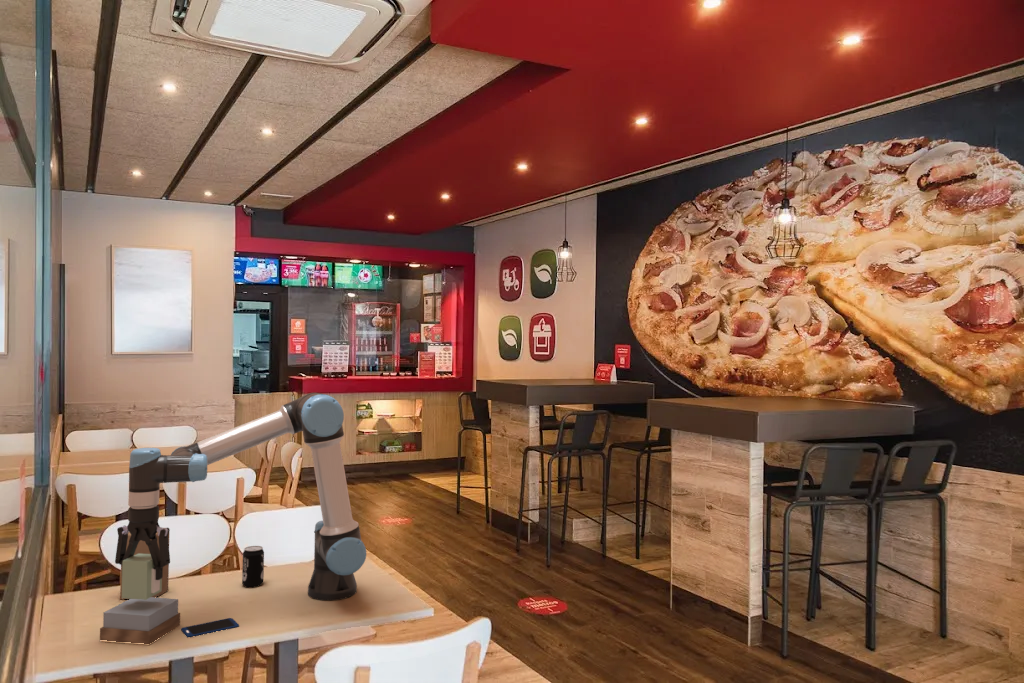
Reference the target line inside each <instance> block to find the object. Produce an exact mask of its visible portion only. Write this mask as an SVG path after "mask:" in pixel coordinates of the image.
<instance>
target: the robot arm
mask: <svg viewBox="0 0 1024 683" xmlns="http://www.w3.org/2000/svg"><path fill="white" fill-rule="evenodd" d="M344 419H345V415H344V409H343V406H342V405H341V404H340V402H339V401H338V400H337V399H335V398H334V397H333V396H331V395H328V394H324V393H322V392H321V393H320V392H310V393H307V394H304V395H302V396H300V397H298V398H296V399H293V400H292V401H290V402H288V403H285V404H282V405H281V406H280V408H279V409H278V410H276V411H274V412H271V413H269V414H268V413H267V414H266V415H263V416H261V417H259V418H256V419H253V420H250V421H248V422H245V423H242V424H239V425H238V426H235V427H232V428H230V429H227V430H225V431H222V432H219V433H217V434H214V435H212V436H209V437H207V438H204V439H202V440H200V441H197V442H194V443H191V444H189V445H187V446H184V445H183V446H180V447H177V448H175V449H174V450H173V451H172V452H171V453H170V454H168V455H166V454H165V455H164V454H162V453H161V449H160V448H157V447H139V448H135V449H132V451H131V452H130V454H129V463H128V464H129V465H128V466H129V467H128V506H129V507H128V510H127V519H128V524H127V525H122V526H120V527H117V531H116V532H117V544H116V550H115V560H114V563H115V564H116V565H120V567H121V566H122V562H123V560H125V559H127V558H130V557H132V556H134V553H135V550H136V548H137V545H138V543H139V541H140V540H142V541H145V543H146V545H148V548H149V551H150V554H151V557H152V560H153V564H154V568H152V578H151V593H155V592H157V591H159V590H160V579H162V577H163V566H166V565H168V564H169V565H170V563H171V555H170V542H169V543H168V534H169V535H170V531H169V529H170V528H169V527H162V526H160V524H159V519H160V506H159V503H160V489H161V488H160V486H161V485H160V484H168V483H188V482H189V483H190V482H192V483H195V482H201V481H205V480H206V479H207V477H208V465H211V464H214V463H216V462H219V461H222V460H224V459H226V458H230V457H232V456H233V455H234V456H235V455H236V454H238V453H241V452H244V451H247V450H250V449H251V448H253V447H256V446H259V445H261V444H264V443H267V442H269V441H271V440H273V439H277V438H278V437H281V436H284V435H286V434H291V435H296V434H297V433H301V432H302V435H303V441H304V444H305V445H307V446H308V447H309V448H310V452H311V458H312V464H313V469H314V476H315V480H316V486H317V494H318V499H319V503H320V505H319V506H320V510H321V517H322V520H319V521H317V522H316V523H315V525H314V531H313V532H314V554H313V555H314V557H313V559H314V561H313V563H314V566H313V568H314V569H313V572H312V575H311V577H310V580H309V583H308V586H307V595H308V597H310V598H311V597H312V599H315V600H320V601H321V600H322V601H337V600H338V601H339V600H342V599H347V598H350V597H353V596H355V594H356V593H357V590H358V589H357V587H358V585H357V581H356V577H355V573H357V572H358V571H359V570H360V569H361V568H362V567H363V565H364V564H365V561H366V559H367V549H366V546H365V544H364V542H363V540H362V536H361V529H360V525H359V522H358V521H356V520H354V518H353V512H352V507H351V501H350V495H349V490H348V489H349V488H348V484H347V483H348V482H347V477H346V471H345V465H344V459H343V454H342V453H343V452H342V447H341V441H342V440H343V438H344V437H345V432H344V428H343V427H344V426H343V423H344ZM128 532H130V534H131V537H130V540H129V545H128V547H127V539H128ZM157 532H158V536H159V547H158V544H157V537H156V533H157ZM151 539H152V540H151ZM126 547H127V550H126ZM159 549H160V550H159Z"/></svg>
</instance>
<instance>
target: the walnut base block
mask: <svg viewBox="0 0 1024 683" xmlns="http://www.w3.org/2000/svg"><path fill="white" fill-rule="evenodd" d="M180 625H181V612H178V614H176V615H175V616H173V617H171V618H170V619H168V620H166V621H165V622H163V623H161V624H160V625H158V626H156V627H155V628H153V629H151V630H150V631H139V630H126V629H114V628H103V626H102V627H100V628H99V641H100V640H107V641H116V642H131V643H144V644H150V643H152V642H154V641H155V640H157V639H158V638H160V637H161V638H163V637H164V636H166V635H167V634H166V633H168V632H169V633H171V632H172V631H173V629H174V630H175V629H177V628H179V626H180ZM176 627H177V628H176ZM171 630H172V631H171ZM170 631H171V632H170ZM169 633H168V634H169ZM165 634H166V635H165ZM163 635H164V636H163ZM162 636H163V637H162ZM161 638H160V639H161ZM158 640H159V639H158ZM158 640H157V641H158ZM155 642H156V641H155ZM155 642H154V643H155ZM152 644H153V643H152Z"/></svg>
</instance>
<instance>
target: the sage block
mask: <svg viewBox="0 0 1024 683" xmlns="http://www.w3.org/2000/svg"><path fill="white" fill-rule="evenodd" d="M152 568H154V564H153V560H152V557H151V554H140V553H138V554H136V555H134V556H132V557H130V558H127V559H125V560H123V562H122V598H127V599H143V600H147V599H148V598H150V597H152V596H154V595H156V594H157V593H159V592H161V591H162V579H160V590H159V591H157V592H155V593H151V578H152Z"/></svg>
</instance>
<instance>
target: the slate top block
mask: <svg viewBox="0 0 1024 683" xmlns="http://www.w3.org/2000/svg"><path fill="white" fill-rule="evenodd" d="M178 613H179V598H167V597H166V598H165V597H156V598H155V597H150V598H148V599H147V600H143V599H129V600H125V601H123V602H121V603H119V604H117V605H115V606H113V607H112V608H110V609H108V610H106V611H104V612H103V614H102V616H103V617H102V618H103V621H102V624H103V625H102V627H103V628H114V629H126V630H139V631H150V630H151V629H153V628H155V627H156V626H158V625H160V624H161V623H163V622H165V621H166V620H168V619H170V618H171V617H173V616H175V615H176V614H178Z"/></svg>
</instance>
